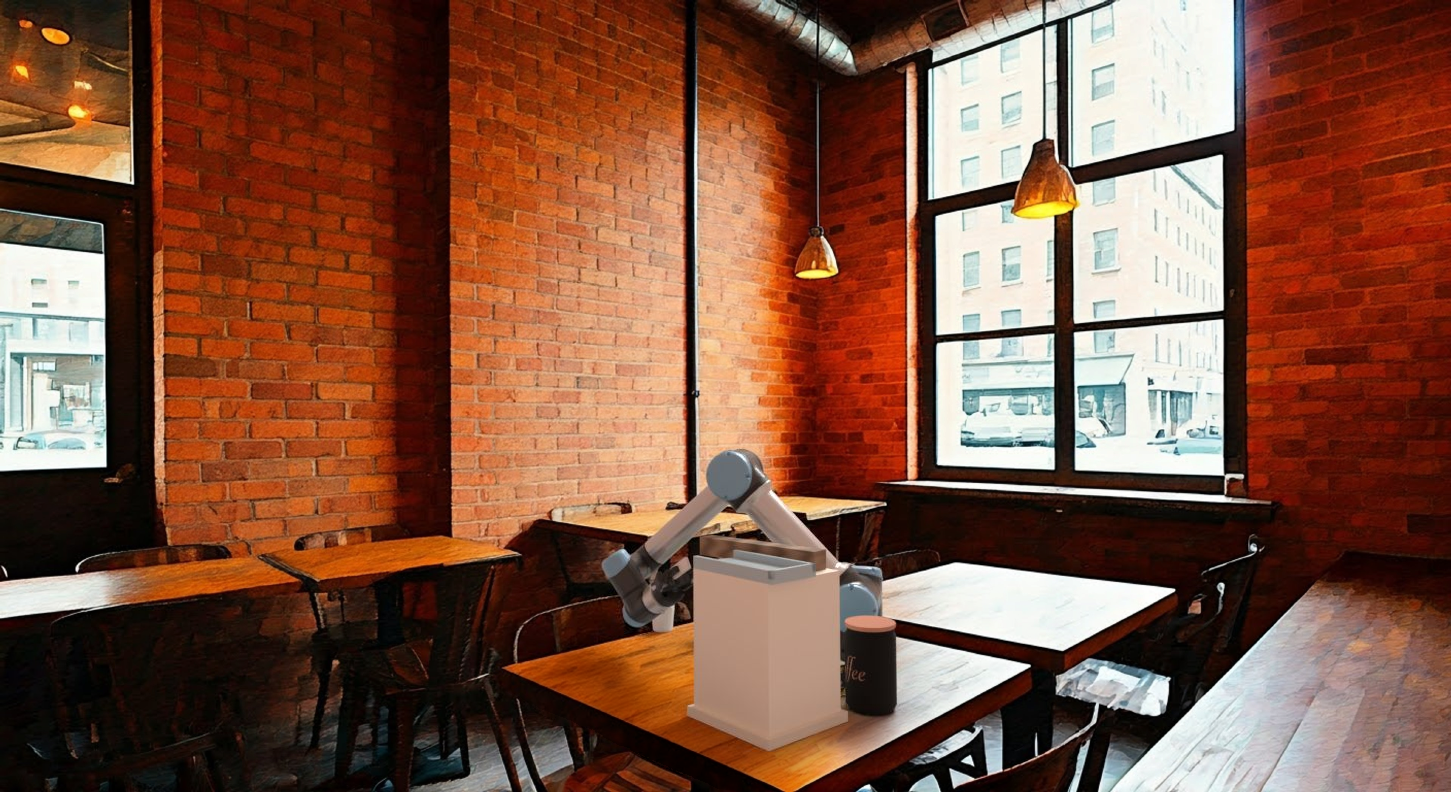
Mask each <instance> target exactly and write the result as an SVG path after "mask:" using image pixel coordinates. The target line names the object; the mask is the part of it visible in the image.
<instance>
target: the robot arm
mask: <svg viewBox="0 0 1451 792" xmlns="http://www.w3.org/2000/svg"><path fill="white" fill-rule="evenodd" d="M705 479H706V484H707V485H706V486H705V487H704V488H703V489H702V490H701V491H700V492H699V493H698V494H697V495H695V497H693V498H692V499H691V500H690V501H689V502H688V503H687V504H686V505H685V506H684V507H683V508H682V509H681V510H679V511H678V512H677V513H676V514H675V515H674V516H673V517H672V518H671V519H669V520H668V521H667V522H666V523H665V524H664V525H663V526H662V527H660V528H659V530H658V531H657V532H655V533H654V534H653V535H652V536H651V537H650V538H649V539H648V540H647V541H645V543H643V544H642V545H641V546H640V547H639V548H638V549H637V550H635V552H633V553H631V554H630V553H628V552H627V550H626V549H624V548H621V549H619V550H616V551H615V552H614V553H612V554H610V555H609V556H608V557H607V558H605V559H604V560H603V561H602V562H601V569H602V570H603V572H604V574H605V575H606V578H607V579H608V580H609V582H610V583H611V585H612V586H613V588H614V590H615V591H616V592H617V594H618V596H619V597H620V599H621V600H622V603H623V604H624V605H623V607H622V615H623V618H624V620H625V622H626V623H627V624H628V625H629V626H630V627H633V628H640V627H643V626H645V625H647V624H649V623H651V622H652V620H653V619H655V618H656V617H657V616H659V615H660V614H665V611H666V610H667V609H669V608H670V607H671V606H673V605H677V604H678V603H679V602H680V601H682V600H683V598H684V596H685V592H686V591H687V590H689V589H690V588H691V587H694V581H693V570H691V569H692V565H691V563H690V560H689V558H688V556H684V557H682V559H680V560H678V562H676V563H675V564H674V565H673V566H671V567H670V568H667V569H665V570H664V571H663V572H662V571H658V570H659V568H660V567H662V565H664V564H665V563H666V562H667V561H668V560H669V559H670V558H671V557H672V556H673V555H674V554H676V553H677V552H678V551H679V550H680V549H681V548H682V547H684V545H686V544H687V543H688V542H689V541H690V540H691V539H692V538H694V537H695V536H696V535H697V534H698V533H699V532H700V531H701V530H702V529H704V528H705V526H707V525H708V524H709V523H710V522H711V521H713V519H715V518H716V517H717V516H718V515H719V514H720V513H721V512H722V511H723V510H724V509H726V508H727V507H728V506H729V505H730V507H731V508H732V509H733V510H734V512H735V513H737V514H746V515H747V516H748V517H749V519H750V520H751V521H752V522H753V523H754V524H755V525H756V526H757V527H758V528H759V530H761V531H762V532H763V534H764V535H765V536H766V537H767V538H768V539H769V540H770V541H771V543H779V544H787V545H795V546H803V547H811V548H819V549H826V568H828V569H833V570H839V585H840V660H841V661H843V662H845V631H846V630H847V628H846V626H845V620H846V619H847V618H850V617H854V616H880V617H884V616H883V615H884V613H883V581H884V578H883V571H882V569H881V568H880V567H877V566H869V565H868V566H867V565H851V564H850V563H848V562H847V563H846V562H840V561H839V560H838V559H837V558H836V557H835V556H834V555H833V553H831V552H830V551H829V550H828V548H827V547H825V545H824V544H823V543H822V542H821V541H820V539H818V538H817V537H816V536H815V534H813V532H811V531H810V529H809V528H808V527H807V526H806V525H805V524H804V523H803V522H802V521H801V520H800V519H799V518H798V516H796V514H795V513H794V512H793V511H792V509H790V508H789V506H787V504H786V503H785V502H784V501H783V500H782V499H781V498H780V497H779V496H778V495H777V494H776V493H775V492H774V491H773V489H772V480H771V479H770V478H769V476H768V475H767V474H766V473H765V471H764V465H763V463H762V460H761V459H760V457H759V456H758V455H757V454H756V453H754V452H753V451H752V450H748V449H745V448H739V449H727V450H724V451H722V452H720V453H718V454H717V455H715V456H714V457H713V458H712V459H711V460H710V462H709V463H708V465H707V468H706V472H705ZM717 559H725V558H719V557H717ZM654 574H655V577H654V580H653V581H652V582H651V583H650V584H648V582H647V581H646V579H650V578H651V577H652V576H653V575H654ZM690 575H691V576H690Z"/></svg>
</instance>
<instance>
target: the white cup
mask: <svg viewBox="0 0 1451 792" xmlns="http://www.w3.org/2000/svg"><path fill="white" fill-rule="evenodd" d="M675 605H676V604H675ZM675 605H673V606H671V607H670V608H669V609H667V610H666V611H665V614H660V615H659V616H657V617H656V618H655V619H653V620H652V621H651V622H652V630H653V631H654V632H656V633H669V632H671V631H673V629H674V628H673V627H674V619H675V618H674V617H675V616H674V615H675Z"/></svg>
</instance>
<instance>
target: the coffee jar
mask: <svg viewBox="0 0 1451 792" xmlns="http://www.w3.org/2000/svg"><path fill="white" fill-rule="evenodd" d="M845 626H846V628H847V630H846V631H845V695H844V696H845V698H844V700H845V704H846V706H847V707H848V709H849V710H850V711H851V712H853V713H855V714H857V715H861V716H867V717H869V716H870V717H881V716H887V715H890V714H891V713H893V712H894V710H895V709H896V707H897V704H898V691H897V690H898V687H897V686H898V684H897V682H898V680H897V674H898V673H897V668H898V667H897V663H898V662H897V634H896V632H895V628H896V626H897V622H896V621H895V620H894V619H892V618H889V617H885V616H883V617H880V616H854V617H850V618H847V619H846V620H845Z"/></svg>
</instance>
